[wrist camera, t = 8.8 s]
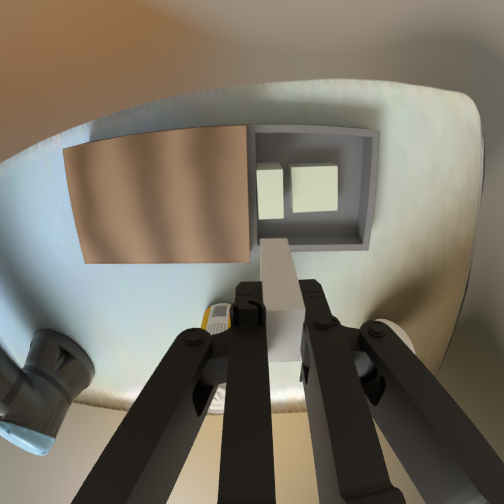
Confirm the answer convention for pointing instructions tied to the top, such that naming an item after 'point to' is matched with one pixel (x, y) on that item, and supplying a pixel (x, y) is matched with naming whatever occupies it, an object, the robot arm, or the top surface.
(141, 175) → the walnut board
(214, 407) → the beer can
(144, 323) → the top surface
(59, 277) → the top surface
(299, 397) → the top surface
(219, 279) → the top surface
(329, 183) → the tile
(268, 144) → the box
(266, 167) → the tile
